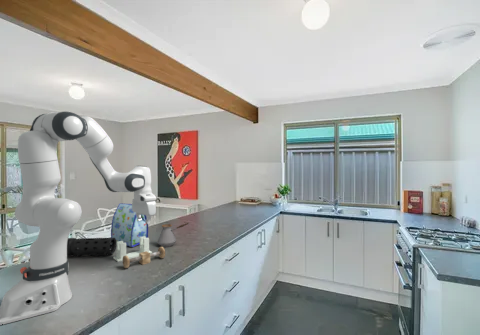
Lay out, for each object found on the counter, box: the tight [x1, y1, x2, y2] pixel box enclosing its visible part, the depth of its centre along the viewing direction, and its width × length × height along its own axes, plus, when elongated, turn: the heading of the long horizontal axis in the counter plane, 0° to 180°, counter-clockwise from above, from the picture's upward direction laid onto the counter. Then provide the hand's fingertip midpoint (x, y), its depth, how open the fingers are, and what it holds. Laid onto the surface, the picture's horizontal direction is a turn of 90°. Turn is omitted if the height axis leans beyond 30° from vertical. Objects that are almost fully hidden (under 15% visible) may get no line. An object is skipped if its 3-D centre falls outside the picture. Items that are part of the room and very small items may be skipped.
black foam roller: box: [67, 237, 117, 257], centre depth 144 cm, size 10×28×10 cm, turn 93°
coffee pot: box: [157, 222, 190, 248], centre depth 161 cm, size 21×12×15 cm, turn 79°
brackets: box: [113, 236, 153, 262], centre depth 143 cm, size 19×7×9 cm, turn 135°
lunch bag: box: [110, 203, 149, 248], centre depth 168 cm, size 22×17×26 cm
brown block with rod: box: [122, 246, 166, 269], centre depth 132 cm, size 20×6×6 cm, turn 135°
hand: (143, 222), depth 133 cm, fingers open, 8 cm apart
